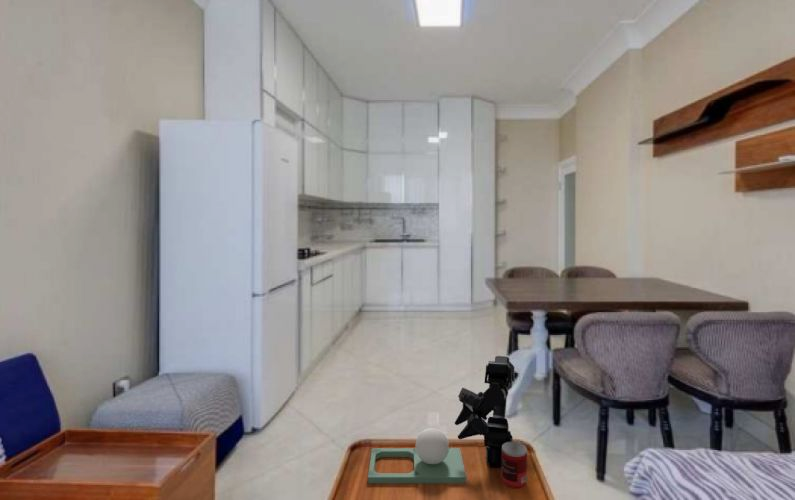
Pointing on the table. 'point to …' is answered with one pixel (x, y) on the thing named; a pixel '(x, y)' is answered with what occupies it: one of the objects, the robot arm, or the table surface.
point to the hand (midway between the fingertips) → (456, 431)
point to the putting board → (419, 468)
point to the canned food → (514, 464)
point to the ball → (432, 446)
